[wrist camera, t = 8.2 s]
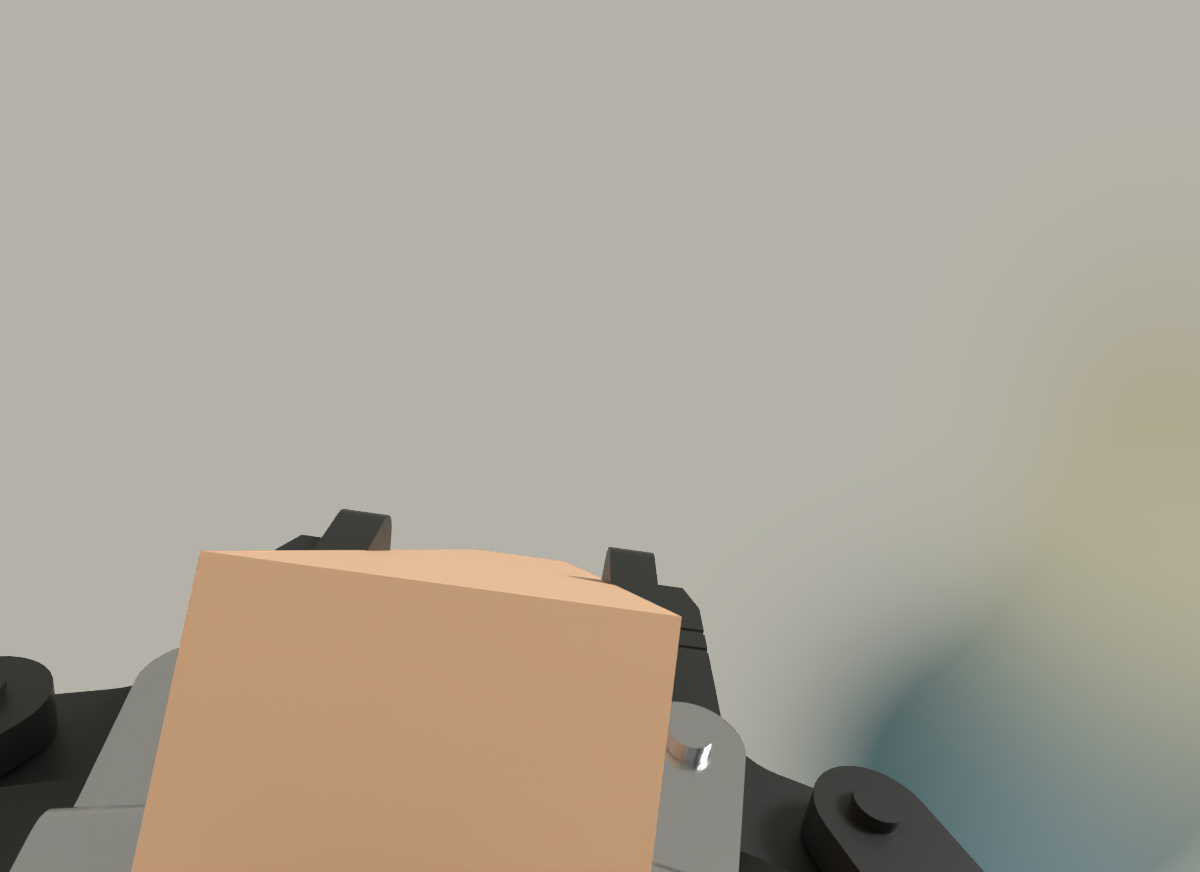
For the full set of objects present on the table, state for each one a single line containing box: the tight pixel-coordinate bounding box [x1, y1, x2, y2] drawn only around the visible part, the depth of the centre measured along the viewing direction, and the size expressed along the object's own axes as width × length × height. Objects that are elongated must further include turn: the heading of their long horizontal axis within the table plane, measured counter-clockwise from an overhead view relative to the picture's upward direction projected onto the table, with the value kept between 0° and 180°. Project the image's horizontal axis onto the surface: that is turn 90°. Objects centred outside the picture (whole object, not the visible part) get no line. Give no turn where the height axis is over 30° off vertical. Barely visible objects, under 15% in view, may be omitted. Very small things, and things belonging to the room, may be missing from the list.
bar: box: [131, 550, 682, 872], centre depth 18 cm, size 26×4×4 cm, turn 4°
